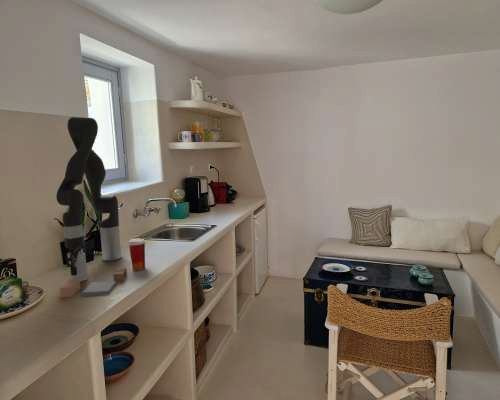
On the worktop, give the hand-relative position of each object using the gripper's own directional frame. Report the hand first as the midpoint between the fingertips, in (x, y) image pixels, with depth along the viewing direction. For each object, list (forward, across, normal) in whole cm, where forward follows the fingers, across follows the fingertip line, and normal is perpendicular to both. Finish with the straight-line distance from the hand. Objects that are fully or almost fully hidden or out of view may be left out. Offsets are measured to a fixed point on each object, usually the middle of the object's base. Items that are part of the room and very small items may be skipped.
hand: (78, 271), depth 148 cm
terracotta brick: (+4, +13, +2) cm, 14 cm away
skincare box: (+4, 0, 0) cm, 4 cm away
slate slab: (+5, +12, +13) cm, 18 cm away
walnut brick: (+4, +1, +18) cm, 19 cm away
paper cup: (+4, -11, +23) cm, 26 cm away
